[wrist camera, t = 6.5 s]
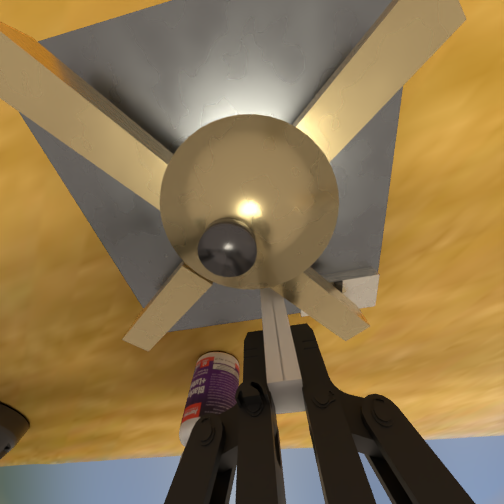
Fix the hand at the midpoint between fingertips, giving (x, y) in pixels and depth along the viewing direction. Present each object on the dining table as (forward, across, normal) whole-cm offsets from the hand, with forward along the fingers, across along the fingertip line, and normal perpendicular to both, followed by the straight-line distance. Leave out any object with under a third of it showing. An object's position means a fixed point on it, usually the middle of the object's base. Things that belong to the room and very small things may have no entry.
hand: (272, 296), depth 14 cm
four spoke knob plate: (+1, -1, +6) cm, 6 cm away
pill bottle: (+4, -8, -13) cm, 16 cm away
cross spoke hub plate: (+4, -1, +6) cm, 7 cm away
